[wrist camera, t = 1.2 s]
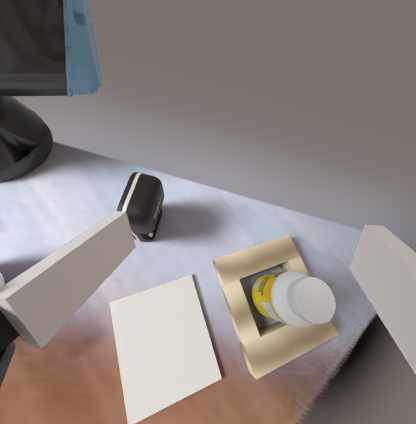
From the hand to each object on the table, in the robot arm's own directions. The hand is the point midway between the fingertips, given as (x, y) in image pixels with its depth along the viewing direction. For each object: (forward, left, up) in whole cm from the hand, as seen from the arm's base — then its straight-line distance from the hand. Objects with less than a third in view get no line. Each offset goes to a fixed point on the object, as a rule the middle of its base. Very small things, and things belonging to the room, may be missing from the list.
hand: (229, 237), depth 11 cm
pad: (+8, -7, -21) cm, 24 cm away
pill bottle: (+8, +10, -22) cm, 25 cm away
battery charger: (-9, -5, -22) cm, 24 cm away
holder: (+8, +10, -21) cm, 25 cm away
